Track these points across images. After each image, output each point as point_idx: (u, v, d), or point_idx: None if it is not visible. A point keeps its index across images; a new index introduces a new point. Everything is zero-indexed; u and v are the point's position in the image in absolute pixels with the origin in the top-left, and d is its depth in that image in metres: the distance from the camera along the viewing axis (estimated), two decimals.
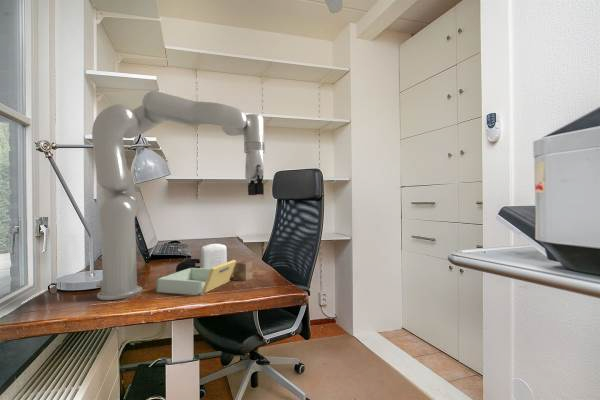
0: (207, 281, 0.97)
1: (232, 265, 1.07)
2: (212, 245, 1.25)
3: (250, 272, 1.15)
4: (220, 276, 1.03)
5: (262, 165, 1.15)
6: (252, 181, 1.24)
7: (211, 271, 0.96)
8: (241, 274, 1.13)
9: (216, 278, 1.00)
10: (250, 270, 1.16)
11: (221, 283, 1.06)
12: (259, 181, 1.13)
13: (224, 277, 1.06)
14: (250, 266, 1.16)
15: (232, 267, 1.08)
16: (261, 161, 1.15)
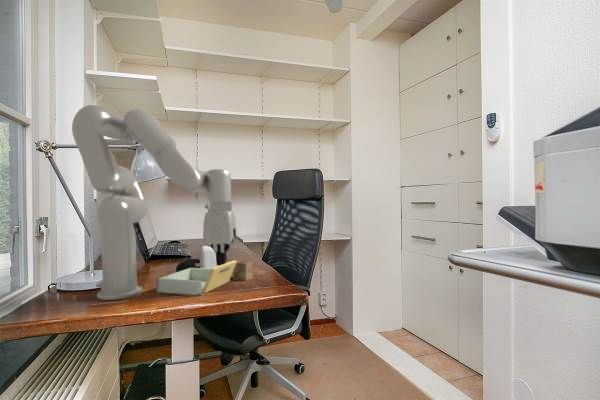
0: (207, 281, 0.97)
1: (233, 265, 1.07)
2: None
3: (250, 272, 1.15)
4: (220, 276, 1.03)
5: None
6: (218, 248, 1.04)
7: (212, 271, 0.96)
8: (241, 274, 1.13)
9: (216, 278, 1.00)
10: (250, 270, 1.16)
11: (221, 283, 1.06)
12: (225, 252, 1.03)
13: (224, 277, 1.06)
14: (250, 266, 1.16)
15: (232, 267, 1.08)
16: (235, 223, 1.03)
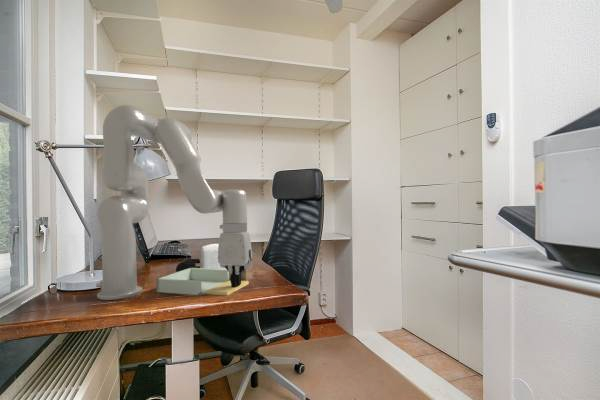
0: (215, 293, 0.96)
1: None
2: (212, 245, 1.25)
3: (250, 272, 1.15)
4: None
5: (251, 249, 1.02)
6: (233, 269, 1.02)
7: (224, 293, 0.95)
8: (241, 274, 1.13)
9: None
10: (250, 270, 1.16)
11: None
12: None
13: None
14: None
15: None
16: (250, 245, 1.01)
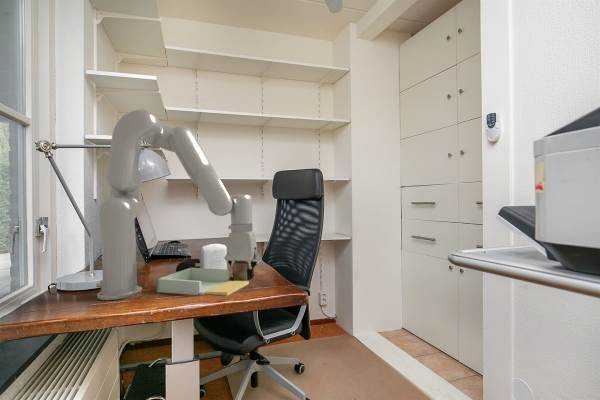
0: (215, 293, 0.96)
1: None
2: (212, 245, 1.25)
3: None
4: None
5: (256, 246, 1.15)
6: None
7: (224, 293, 0.95)
8: (241, 274, 1.13)
9: None
10: None
11: None
12: (253, 267, 1.14)
13: None
14: None
15: None
16: (255, 243, 1.15)
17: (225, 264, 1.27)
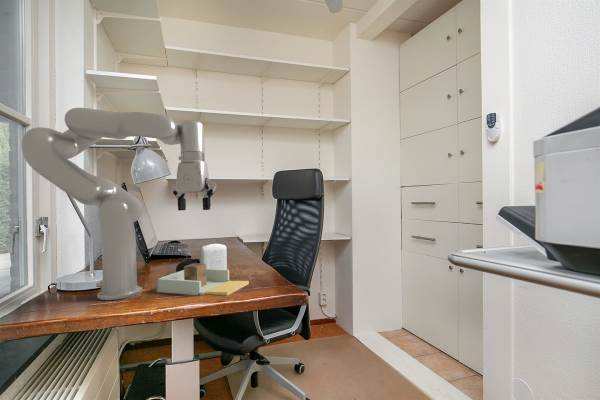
0: (215, 293, 0.96)
1: None
2: (212, 245, 1.25)
3: (203, 276, 1.06)
4: None
5: (208, 178, 1.06)
6: (180, 194, 1.08)
7: (224, 293, 0.95)
8: (192, 278, 1.04)
9: None
10: (203, 274, 1.07)
11: None
12: (209, 195, 1.04)
13: None
14: (203, 269, 1.07)
15: None
16: (207, 174, 1.06)
17: (225, 264, 1.27)
